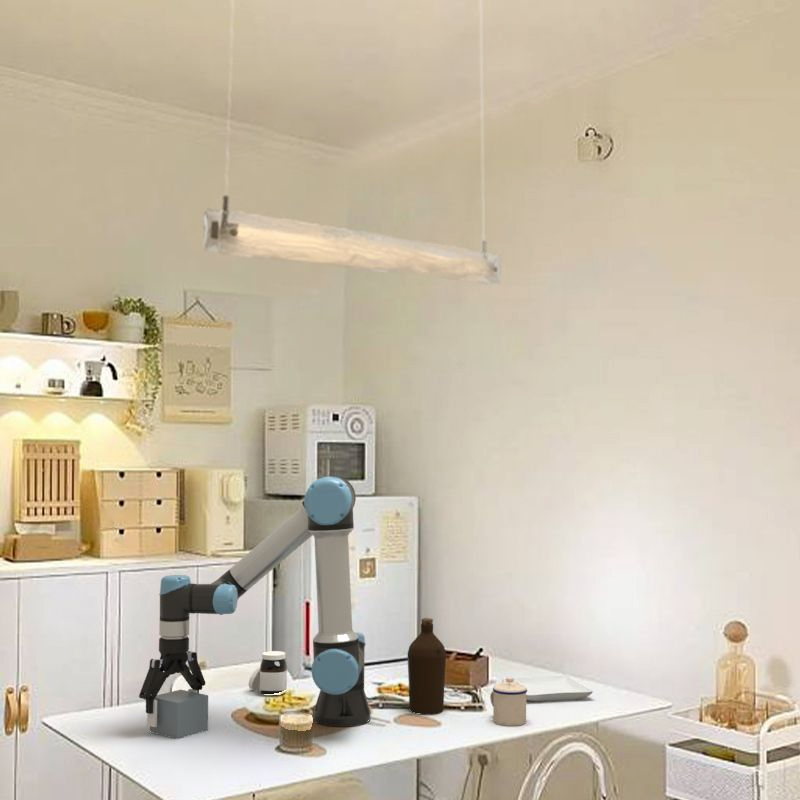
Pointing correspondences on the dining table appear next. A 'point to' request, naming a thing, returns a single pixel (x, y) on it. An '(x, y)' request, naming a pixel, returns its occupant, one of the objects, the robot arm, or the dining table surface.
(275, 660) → the spread jar
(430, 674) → the olive oil
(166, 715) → the grey block
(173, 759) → the dining table surface
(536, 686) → the salad plate
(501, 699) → the teacup with lid
